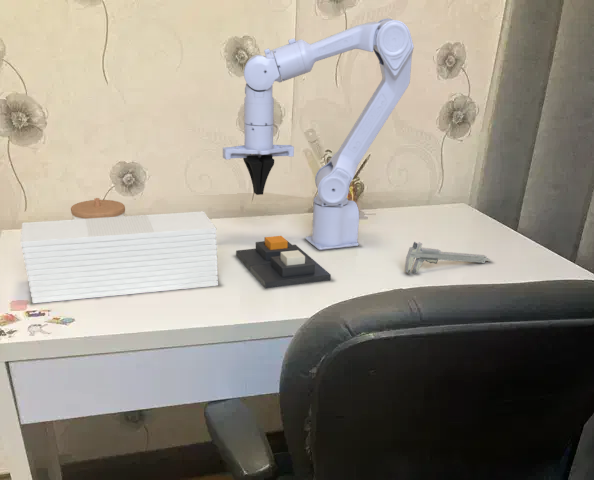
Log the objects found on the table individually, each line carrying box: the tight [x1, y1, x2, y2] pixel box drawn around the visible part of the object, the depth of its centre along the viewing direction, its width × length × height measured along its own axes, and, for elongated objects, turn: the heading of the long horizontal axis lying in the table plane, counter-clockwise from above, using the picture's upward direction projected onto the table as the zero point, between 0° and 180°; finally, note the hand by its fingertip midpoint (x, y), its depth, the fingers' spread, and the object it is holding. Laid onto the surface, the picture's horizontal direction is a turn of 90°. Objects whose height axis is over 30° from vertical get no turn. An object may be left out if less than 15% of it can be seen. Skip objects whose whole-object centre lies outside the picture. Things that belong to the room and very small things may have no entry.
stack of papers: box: [20, 210, 219, 304], centre depth 118 cm, size 32×11×11 cm, turn 108°
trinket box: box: [70, 197, 126, 220], centre depth 137 cm, size 11×11×9 cm
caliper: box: [404, 241, 491, 275], centre depth 130 cm, size 20×1×6 cm, turn 116°
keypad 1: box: [235, 240, 313, 272], centre depth 132 cm, size 13×9×3 cm
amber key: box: [264, 235, 289, 250], centre depth 132 cm, size 4×4×2 cm
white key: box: [281, 250, 305, 266], centre depth 124 cm, size 4×4×2 cm
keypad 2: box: [249, 256, 332, 289], centre depth 125 cm, size 13×9×3 cm
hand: (258, 193), depth 137 cm, fingers closed
